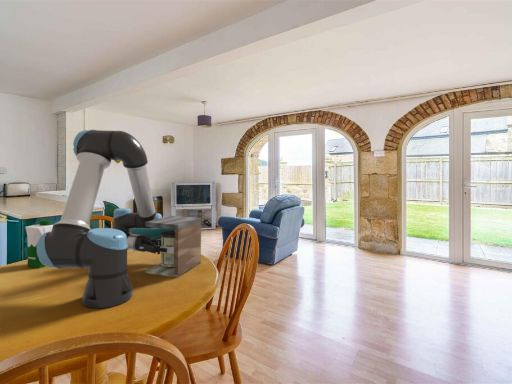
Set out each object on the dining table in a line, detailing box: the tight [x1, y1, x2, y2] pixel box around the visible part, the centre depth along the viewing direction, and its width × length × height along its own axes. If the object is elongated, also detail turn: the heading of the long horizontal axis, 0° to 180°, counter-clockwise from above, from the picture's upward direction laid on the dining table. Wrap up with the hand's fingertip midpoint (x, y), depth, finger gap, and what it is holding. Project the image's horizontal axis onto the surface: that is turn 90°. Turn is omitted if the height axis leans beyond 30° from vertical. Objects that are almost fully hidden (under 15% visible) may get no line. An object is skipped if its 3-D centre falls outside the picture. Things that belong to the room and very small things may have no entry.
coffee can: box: [160, 230, 175, 267], centre depth 128 cm, size 10×10×14 cm
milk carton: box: [25, 219, 54, 269], centre depth 127 cm, size 9×9×20 cm
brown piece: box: [144, 215, 202, 278], centre depth 128 cm, size 16×20×22 cm
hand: (181, 247), depth 127 cm, fingers closed on coffee can, 10 cm apart
